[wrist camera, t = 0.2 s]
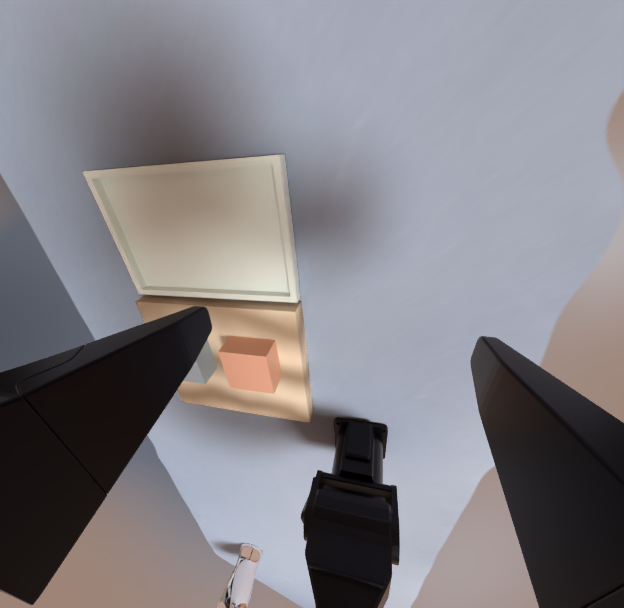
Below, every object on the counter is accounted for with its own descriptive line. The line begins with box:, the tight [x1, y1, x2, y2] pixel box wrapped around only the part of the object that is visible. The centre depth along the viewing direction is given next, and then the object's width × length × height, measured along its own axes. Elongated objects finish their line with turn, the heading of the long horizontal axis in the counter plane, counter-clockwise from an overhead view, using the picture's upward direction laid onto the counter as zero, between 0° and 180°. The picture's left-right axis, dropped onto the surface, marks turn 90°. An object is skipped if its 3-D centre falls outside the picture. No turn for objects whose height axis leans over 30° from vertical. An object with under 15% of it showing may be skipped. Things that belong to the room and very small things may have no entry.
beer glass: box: [217, 543, 263, 608], centre depth 63 cm, size 7×7×15 cm
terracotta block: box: [218, 336, 282, 394], centre depth 27 cm, size 5×5×2 cm
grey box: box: [183, 339, 217, 384], centre depth 29 cm, size 5×5×2 cm
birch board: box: [136, 295, 313, 423], centre depth 31 cm, size 16×18×2 cm
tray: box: [83, 154, 301, 303], centre depth 24 cm, size 12×18×1 cm, turn 95°
